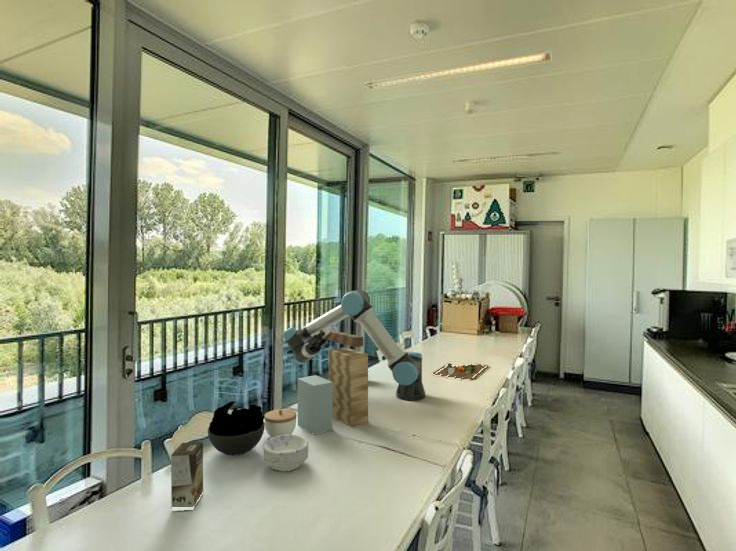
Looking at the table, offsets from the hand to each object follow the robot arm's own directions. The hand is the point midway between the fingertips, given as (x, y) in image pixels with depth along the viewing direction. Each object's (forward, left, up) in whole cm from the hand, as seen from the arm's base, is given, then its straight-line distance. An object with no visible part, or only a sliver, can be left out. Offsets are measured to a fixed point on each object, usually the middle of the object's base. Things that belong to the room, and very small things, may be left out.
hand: (332, 329), depth 204 cm
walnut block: (-5, +3, -5) cm, 8 cm away
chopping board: (-41, -100, -39) cm, 115 cm away
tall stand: (-11, +6, -38) cm, 40 cm away
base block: (-2, +21, -38) cm, 44 cm away
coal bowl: (+11, +54, -38) cm, 67 cm away
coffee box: (+2, +86, -38) cm, 94 cm away
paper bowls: (-11, +55, -39) cm, 68 cm away
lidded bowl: (+5, +35, -38) cm, 52 cm away
